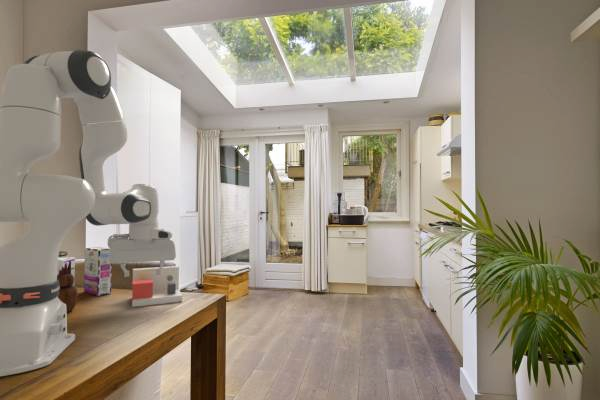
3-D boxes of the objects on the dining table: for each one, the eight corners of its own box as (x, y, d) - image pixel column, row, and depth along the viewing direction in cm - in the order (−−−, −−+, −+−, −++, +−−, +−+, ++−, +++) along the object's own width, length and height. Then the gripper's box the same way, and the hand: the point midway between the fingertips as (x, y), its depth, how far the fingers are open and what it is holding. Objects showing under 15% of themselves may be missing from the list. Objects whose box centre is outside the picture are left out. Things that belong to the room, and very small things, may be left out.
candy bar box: (112, 293, 124) (113, 248, 125) (97, 296, 120) (98, 249, 120) (97, 289, 130) (98, 246, 131) (83, 291, 126) (84, 247, 127)
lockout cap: (151, 293, 117) (152, 279, 117) (152, 297, 112) (152, 282, 112) (132, 295, 115) (132, 280, 115) (132, 299, 109) (132, 284, 109)
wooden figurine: (72, 307, 107) (73, 259, 107) (80, 310, 104) (81, 261, 104) (46, 312, 101) (47, 262, 102) (54, 316, 98) (55, 264, 98)
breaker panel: (182, 301, 114) (182, 271, 115) (132, 306, 108) (132, 275, 108) (177, 293, 125) (178, 265, 125) (132, 297, 119) (132, 268, 119)
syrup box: (75, 299, 116) (76, 256, 117) (61, 304, 110) (62, 259, 111) (59, 298, 117) (60, 256, 117) (45, 303, 111) (46, 258, 111)
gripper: (107, 234, 106) (105, 279, 105) (176, 233, 115) (176, 274, 114) (108, 233, 112) (107, 276, 111) (174, 232, 121) (174, 272, 120)
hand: (142, 275), depth 113 cm, fingers open, 8 cm apart
